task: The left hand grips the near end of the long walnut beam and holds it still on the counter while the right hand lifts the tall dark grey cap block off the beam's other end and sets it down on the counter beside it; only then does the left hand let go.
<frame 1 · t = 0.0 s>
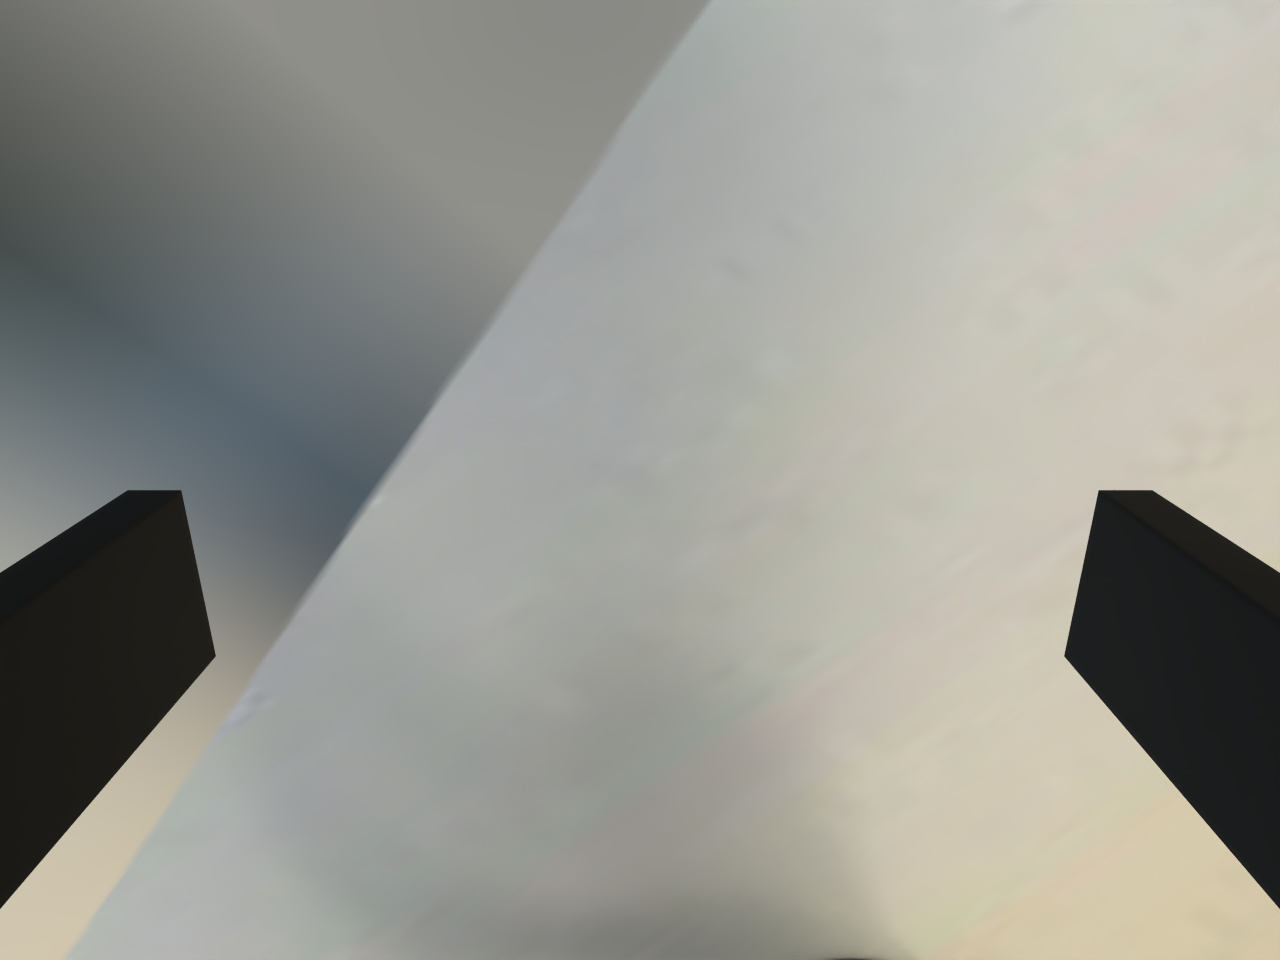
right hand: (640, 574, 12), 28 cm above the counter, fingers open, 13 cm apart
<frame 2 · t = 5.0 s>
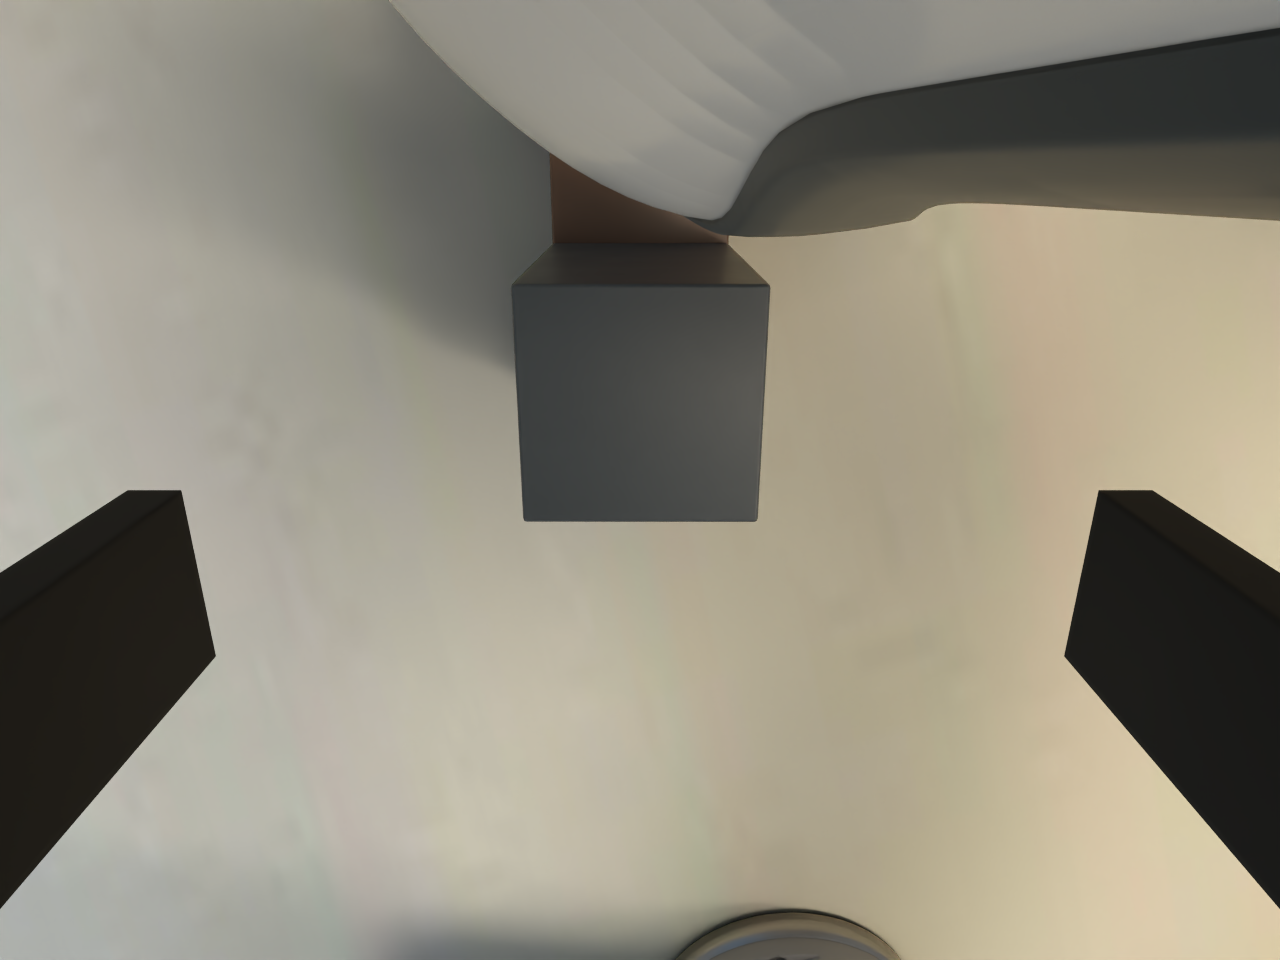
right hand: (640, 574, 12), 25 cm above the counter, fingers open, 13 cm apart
walnut beam: (640, 6, 32), on the counter, touching cap block, left hand
cap block: (640, 330, 30), point 6 cm above the counter, touching walnut beam
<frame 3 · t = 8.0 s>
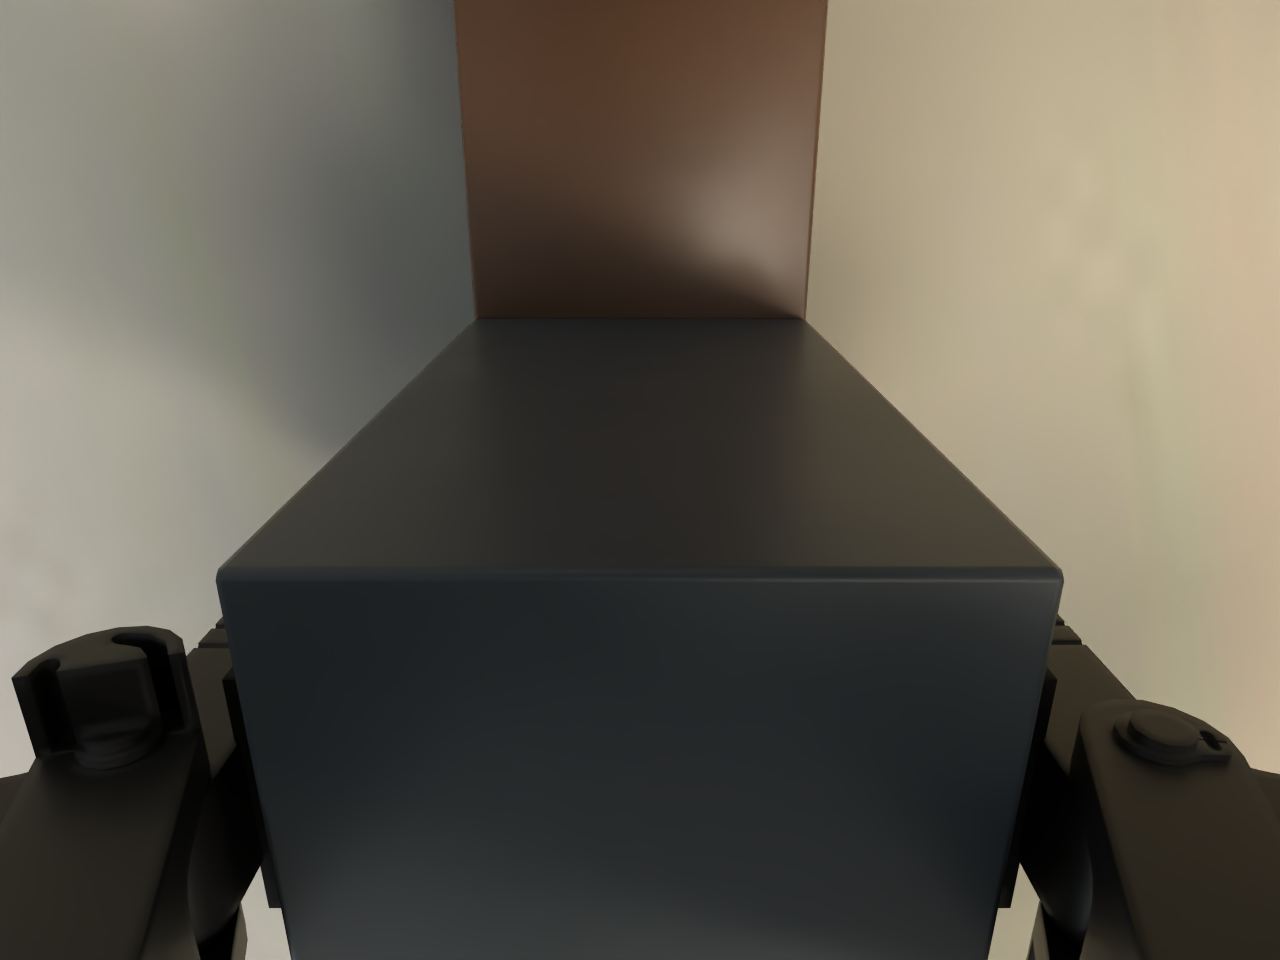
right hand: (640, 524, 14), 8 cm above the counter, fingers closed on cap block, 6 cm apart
cap block: (639, 473, 16), point 6 cm above the counter, touching right hand, walnut beam
when the right hand's fingers open (4 cm above the counter, at t = 14.8 s): cap block drops 1 cm, on the counter.
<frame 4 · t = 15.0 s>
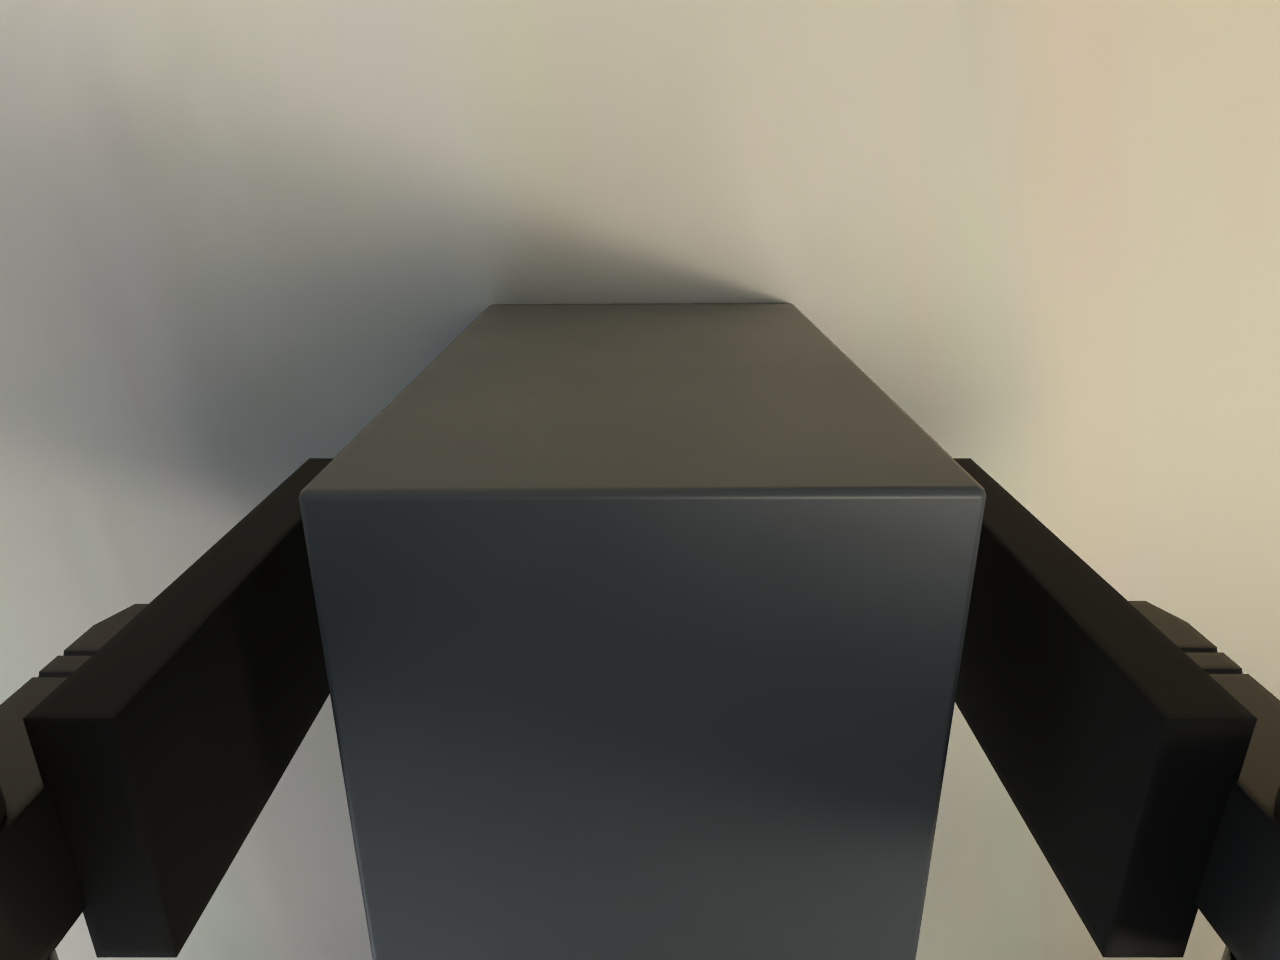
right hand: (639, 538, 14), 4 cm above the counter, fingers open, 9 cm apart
cap block: (641, 447, 18), on the counter
when the left hand's fingers open (2 cm above the counter, at t = 17.5 s): walnut beam stays where it is, on the counter.
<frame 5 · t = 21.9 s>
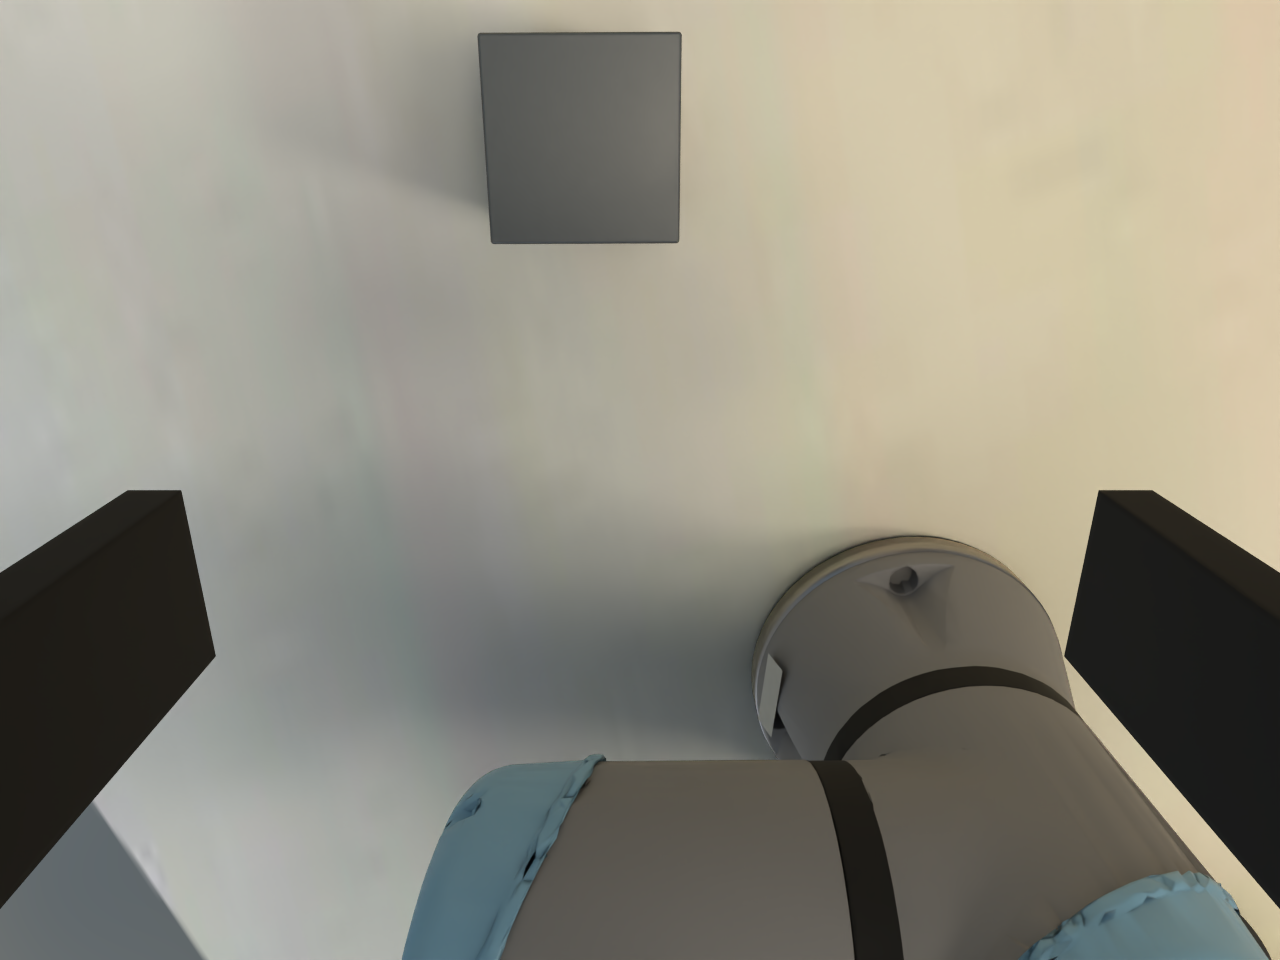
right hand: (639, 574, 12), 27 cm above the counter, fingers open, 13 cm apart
cap block: (597, 146, 35), on the counter
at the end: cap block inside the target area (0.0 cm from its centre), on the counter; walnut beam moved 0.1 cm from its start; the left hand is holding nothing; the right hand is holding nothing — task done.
